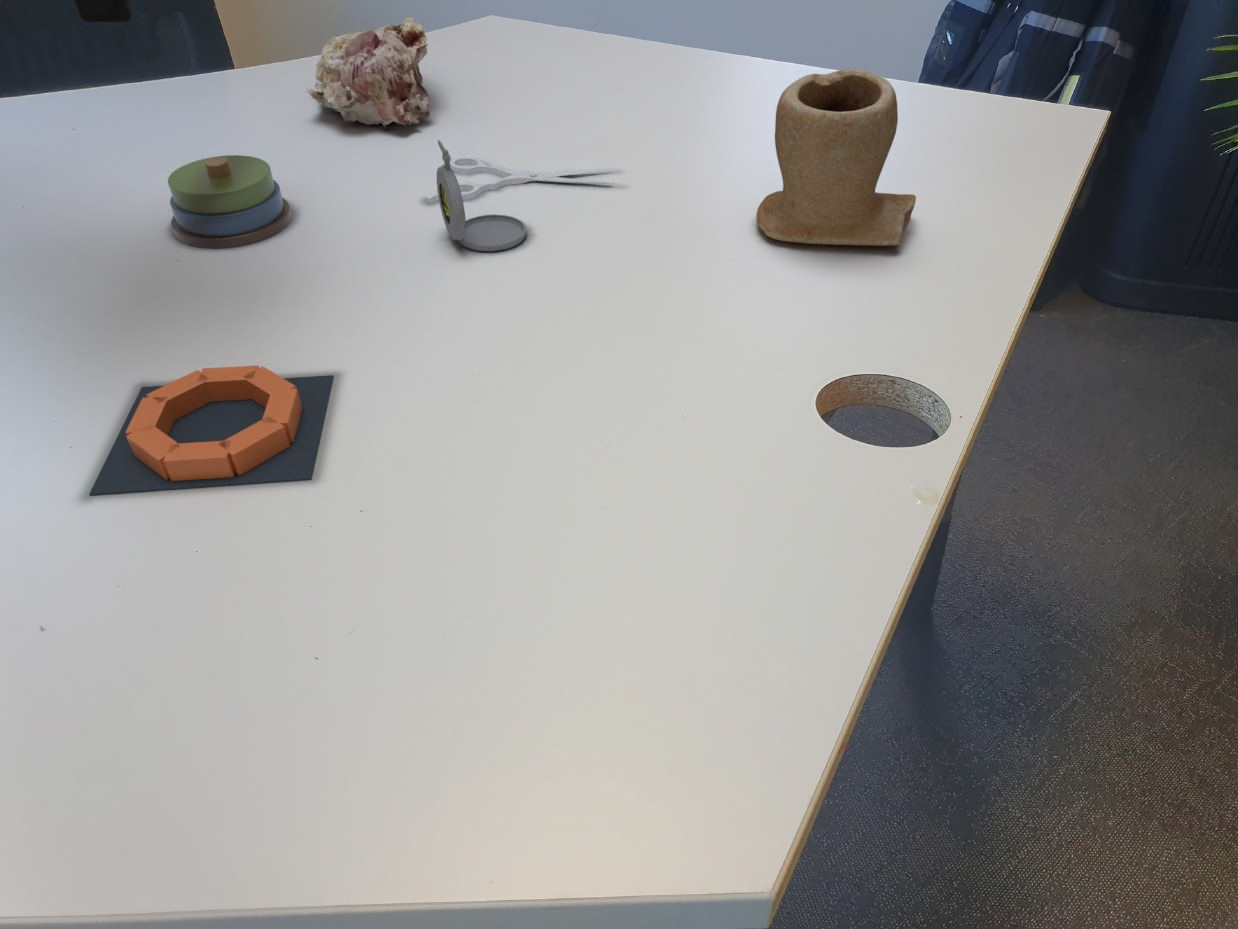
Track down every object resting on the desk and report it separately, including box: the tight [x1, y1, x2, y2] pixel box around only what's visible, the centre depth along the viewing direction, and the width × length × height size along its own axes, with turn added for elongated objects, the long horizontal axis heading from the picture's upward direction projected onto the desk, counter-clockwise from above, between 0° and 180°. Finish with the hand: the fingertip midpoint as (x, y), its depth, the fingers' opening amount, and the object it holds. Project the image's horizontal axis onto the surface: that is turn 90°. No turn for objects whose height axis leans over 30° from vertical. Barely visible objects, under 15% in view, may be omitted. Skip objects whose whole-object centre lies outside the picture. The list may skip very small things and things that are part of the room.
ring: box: [125, 364, 303, 481], centre depth 63 cm, size 11×11×2 cm
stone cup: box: [755, 68, 917, 247], centre depth 82 cm, size 15×12×15 cm
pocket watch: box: [436, 139, 527, 252], centre depth 83 cm, size 8×8×10 cm
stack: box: [167, 154, 293, 250], centre depth 87 cm, size 11×11×6 cm
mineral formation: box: [305, 17, 431, 128], centre depth 111 cm, size 23×16×10 cm
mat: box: [88, 374, 335, 497], centre depth 63 cm, size 14×12×1 cm
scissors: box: [426, 156, 617, 204], centre depth 96 cm, size 11×1×20 cm
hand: (131, 1), depth 64 cm, fingers open, 9 cm apart
